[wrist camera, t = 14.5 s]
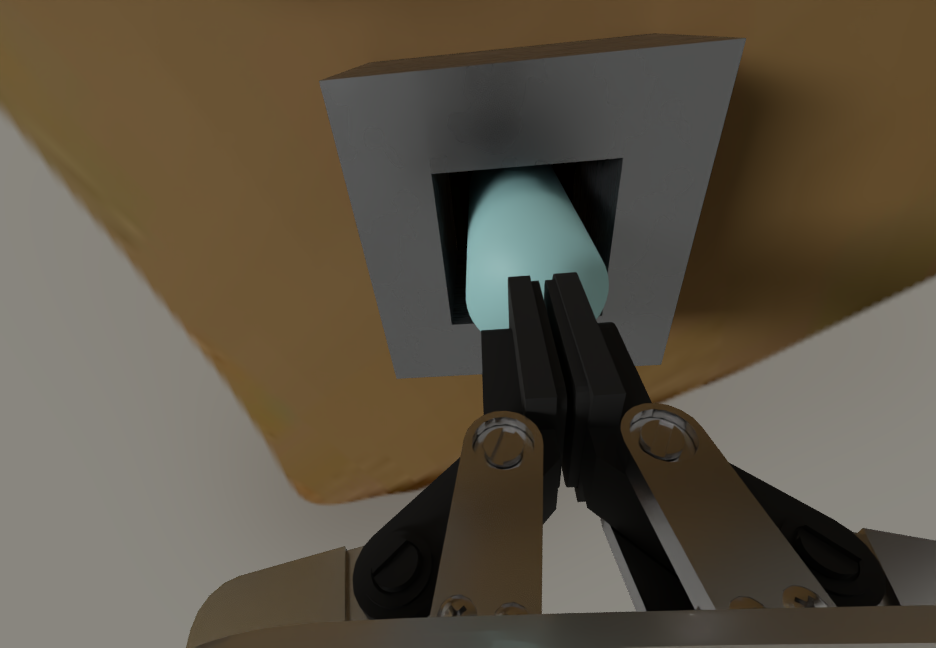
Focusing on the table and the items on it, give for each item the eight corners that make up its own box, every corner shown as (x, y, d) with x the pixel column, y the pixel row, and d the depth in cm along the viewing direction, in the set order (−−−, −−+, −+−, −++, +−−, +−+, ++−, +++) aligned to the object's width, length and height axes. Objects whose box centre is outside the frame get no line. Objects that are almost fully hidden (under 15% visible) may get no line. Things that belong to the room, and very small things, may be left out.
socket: (369, 62, 18) (318, 80, 12) (655, 33, 17) (746, 38, 11) (414, 297, 25) (396, 378, 19) (616, 284, 24) (661, 364, 18)
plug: (465, 148, 20) (459, 235, 12) (557, 140, 19) (618, 223, 11) (472, 234, 22) (471, 354, 14) (554, 228, 22) (600, 346, 14)
